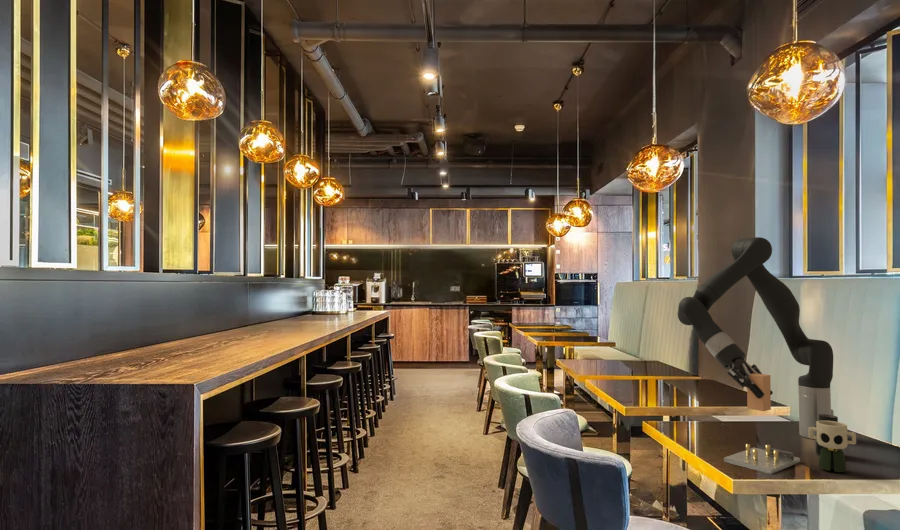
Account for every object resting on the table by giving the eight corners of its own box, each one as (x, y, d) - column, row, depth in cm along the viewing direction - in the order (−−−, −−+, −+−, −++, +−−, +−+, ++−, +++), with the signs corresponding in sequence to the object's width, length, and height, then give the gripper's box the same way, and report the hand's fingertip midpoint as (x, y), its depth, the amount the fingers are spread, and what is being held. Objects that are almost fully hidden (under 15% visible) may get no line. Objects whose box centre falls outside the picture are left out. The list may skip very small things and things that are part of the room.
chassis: (753, 451, 170) (753, 437, 170) (799, 462, 160) (799, 447, 160) (723, 461, 160) (723, 447, 160) (771, 474, 149) (770, 458, 149)
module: (754, 406, 164) (754, 373, 164) (770, 409, 160) (770, 375, 161) (747, 408, 161) (747, 374, 162) (763, 411, 158) (762, 376, 158)
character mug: (808, 469, 153) (807, 422, 153) (809, 463, 158) (808, 418, 159) (857, 478, 146) (855, 428, 147) (856, 470, 152) (855, 423, 153)
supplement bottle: (834, 460, 162) (833, 419, 162) (810, 454, 168) (809, 414, 168) (847, 457, 165) (846, 416, 165) (823, 451, 171) (822, 412, 171)
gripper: (721, 343, 164) (763, 390, 153) (745, 341, 172) (787, 386, 161) (704, 359, 168) (744, 406, 157) (728, 356, 176) (768, 401, 165)
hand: (765, 395), depth 159 cm, fingers closed on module, 4 cm apart
